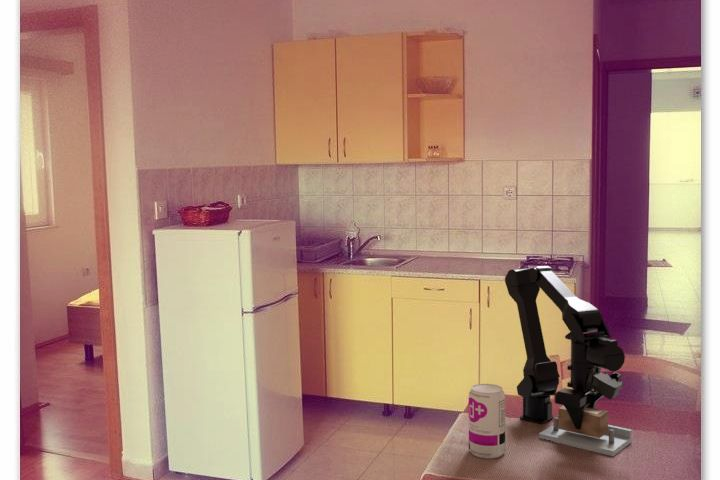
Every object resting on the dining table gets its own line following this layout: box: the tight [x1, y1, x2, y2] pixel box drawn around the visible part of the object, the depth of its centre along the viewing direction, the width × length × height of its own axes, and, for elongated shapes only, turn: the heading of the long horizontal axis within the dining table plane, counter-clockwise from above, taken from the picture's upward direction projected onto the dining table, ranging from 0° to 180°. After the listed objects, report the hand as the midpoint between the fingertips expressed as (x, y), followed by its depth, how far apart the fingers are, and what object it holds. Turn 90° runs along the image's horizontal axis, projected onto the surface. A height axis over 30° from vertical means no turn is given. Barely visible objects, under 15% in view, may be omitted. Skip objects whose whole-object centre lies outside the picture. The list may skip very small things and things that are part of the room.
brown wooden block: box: [557, 405, 609, 438], centre depth 166 cm, size 10×5×5 cm, turn 49°
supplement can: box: [468, 383, 506, 460], centre depth 160 cm, size 8×8×15 cm
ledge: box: [538, 416, 633, 457], centre depth 167 cm, size 18×11×4 cm, turn 49°
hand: (582, 426), depth 166 cm, fingers closed on brown wooden block, 5 cm apart
